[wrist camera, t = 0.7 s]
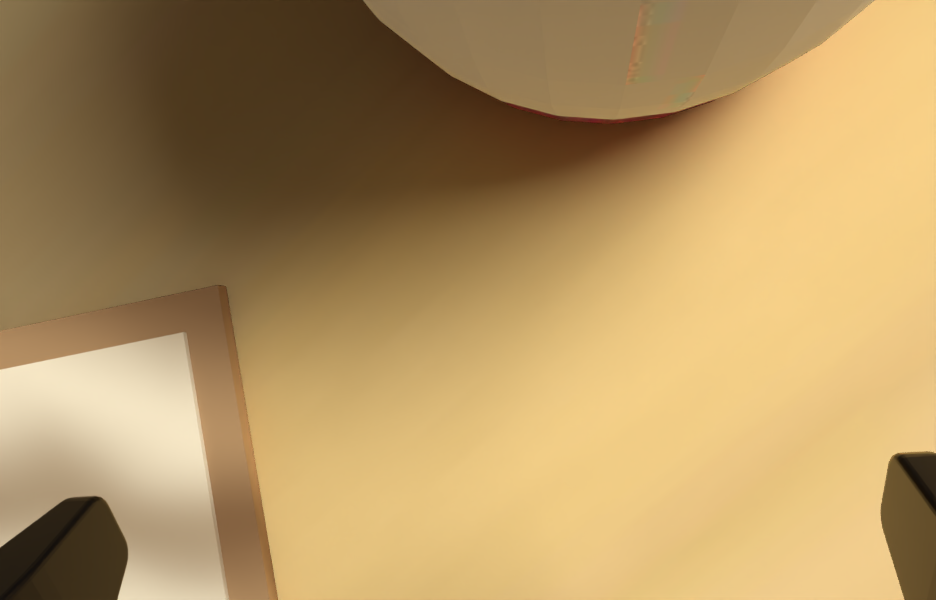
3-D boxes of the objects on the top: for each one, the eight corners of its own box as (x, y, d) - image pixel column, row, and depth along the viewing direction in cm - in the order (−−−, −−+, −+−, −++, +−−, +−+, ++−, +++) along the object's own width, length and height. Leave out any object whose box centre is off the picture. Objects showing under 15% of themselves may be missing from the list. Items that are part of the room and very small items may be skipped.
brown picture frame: (292, 688, 24) (283, 699, 23) (-19, 735, 25) (-38, 747, 25) (226, 286, 25) (214, 284, 25) (-70, 349, 26) (-90, 348, 26)
